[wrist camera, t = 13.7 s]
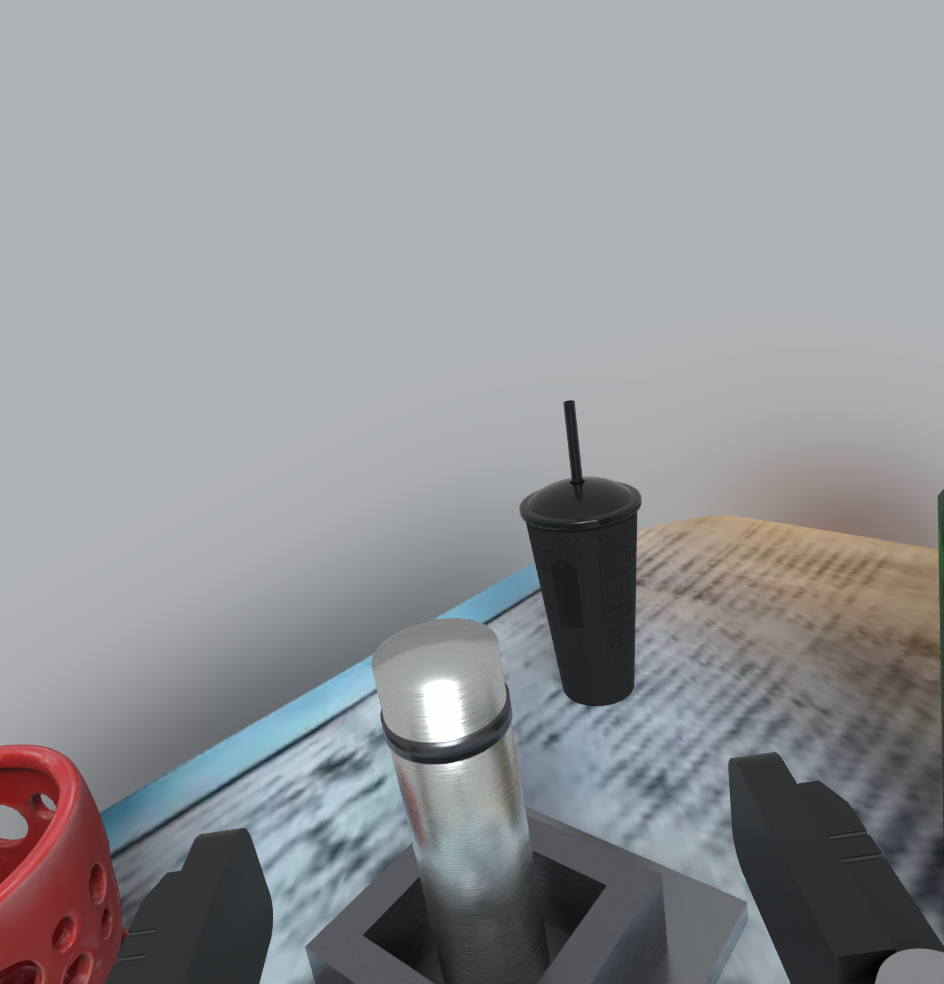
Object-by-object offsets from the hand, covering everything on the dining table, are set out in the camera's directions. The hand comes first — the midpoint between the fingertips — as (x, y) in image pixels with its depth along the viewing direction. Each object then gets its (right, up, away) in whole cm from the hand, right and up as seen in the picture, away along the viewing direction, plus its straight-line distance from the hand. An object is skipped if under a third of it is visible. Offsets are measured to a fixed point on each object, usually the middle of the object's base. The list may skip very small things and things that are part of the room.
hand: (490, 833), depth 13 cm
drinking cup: (+8, -8, +40) cm, 42 cm away
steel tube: (+1, -15, +19) cm, 24 cm away
